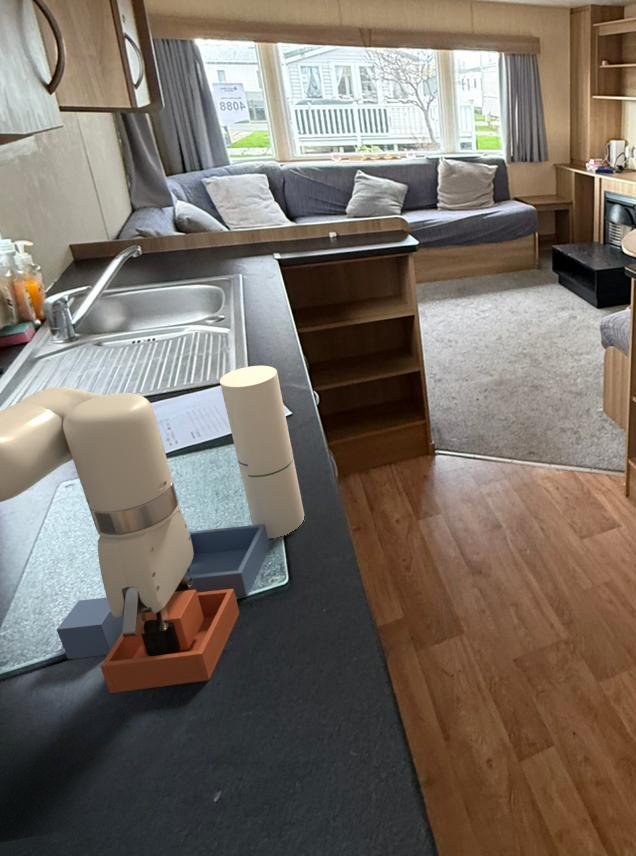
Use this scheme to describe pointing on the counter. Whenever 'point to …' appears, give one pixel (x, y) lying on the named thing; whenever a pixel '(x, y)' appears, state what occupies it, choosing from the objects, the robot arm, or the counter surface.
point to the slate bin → (227, 558)
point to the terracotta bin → (190, 665)
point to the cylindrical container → (263, 448)
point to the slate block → (90, 629)
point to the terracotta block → (182, 616)
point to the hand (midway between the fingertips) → (174, 633)
